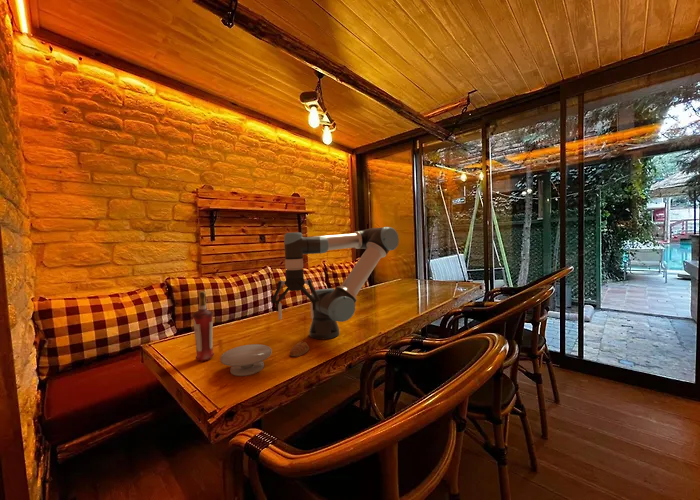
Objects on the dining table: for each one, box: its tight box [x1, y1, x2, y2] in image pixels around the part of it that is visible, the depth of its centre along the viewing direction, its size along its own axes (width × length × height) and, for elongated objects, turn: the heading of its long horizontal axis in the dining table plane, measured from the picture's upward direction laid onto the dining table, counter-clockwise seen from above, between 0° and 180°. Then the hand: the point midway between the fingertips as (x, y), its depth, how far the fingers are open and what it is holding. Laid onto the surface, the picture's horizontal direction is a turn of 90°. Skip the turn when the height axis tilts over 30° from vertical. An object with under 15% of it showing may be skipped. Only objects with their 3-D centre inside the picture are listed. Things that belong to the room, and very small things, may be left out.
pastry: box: [289, 341, 310, 357], centre depth 123 cm, size 9×7×4 cm
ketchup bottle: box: [192, 291, 215, 362], centre depth 119 cm, size 7×7×28 cm
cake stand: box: [220, 343, 272, 377], centre depth 109 cm, size 18×18×6 cm
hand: (296, 318), depth 123 cm, fingers open, 13 cm apart
